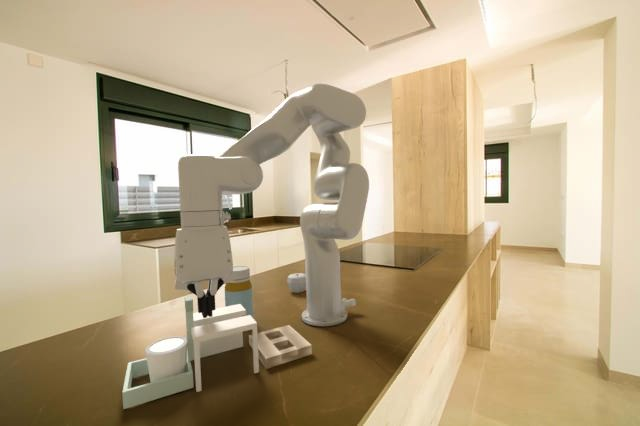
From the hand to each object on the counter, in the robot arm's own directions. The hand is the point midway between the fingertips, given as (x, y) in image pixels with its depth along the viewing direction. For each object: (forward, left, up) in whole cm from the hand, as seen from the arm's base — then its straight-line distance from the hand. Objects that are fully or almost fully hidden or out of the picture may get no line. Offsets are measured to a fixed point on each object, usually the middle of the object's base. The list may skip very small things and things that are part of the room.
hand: (206, 314), depth 56 cm
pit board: (-15, 0, -11) cm, 18 cm away
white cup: (+7, 0, -11) cm, 13 cm away
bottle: (-11, -19, -11) cm, 24 cm away
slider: (+8, 0, -11) cm, 14 cm away
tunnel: (-3, 0, -11) cm, 11 cm away
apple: (-36, -36, -11) cm, 51 cm away
